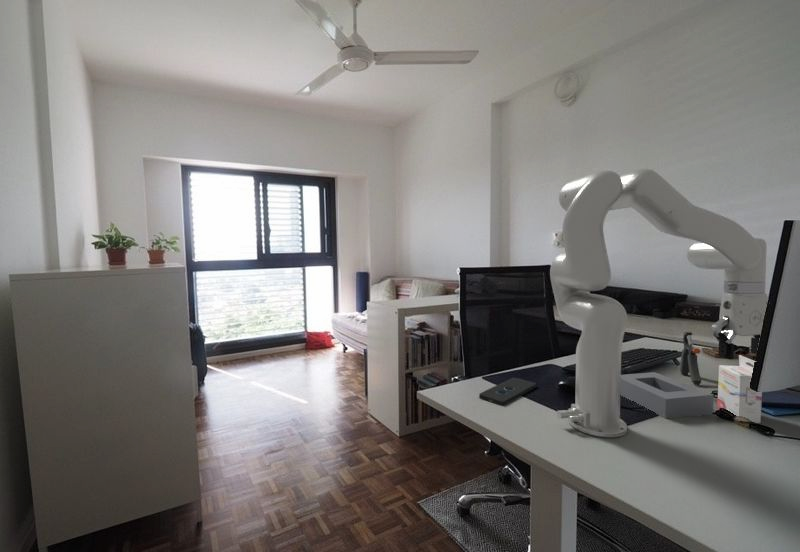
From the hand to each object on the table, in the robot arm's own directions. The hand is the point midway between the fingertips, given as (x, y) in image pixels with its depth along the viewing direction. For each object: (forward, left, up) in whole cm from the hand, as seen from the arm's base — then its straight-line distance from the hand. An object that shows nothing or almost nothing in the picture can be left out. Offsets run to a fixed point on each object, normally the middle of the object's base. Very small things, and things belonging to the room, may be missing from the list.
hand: (742, 356), depth 93 cm
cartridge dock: (-13, +11, -15) cm, 23 cm away
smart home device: (-50, +26, -16) cm, 58 cm away
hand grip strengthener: (+11, +24, -16) cm, 31 cm away
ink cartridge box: (-1, 0, -16) cm, 15 cm away
